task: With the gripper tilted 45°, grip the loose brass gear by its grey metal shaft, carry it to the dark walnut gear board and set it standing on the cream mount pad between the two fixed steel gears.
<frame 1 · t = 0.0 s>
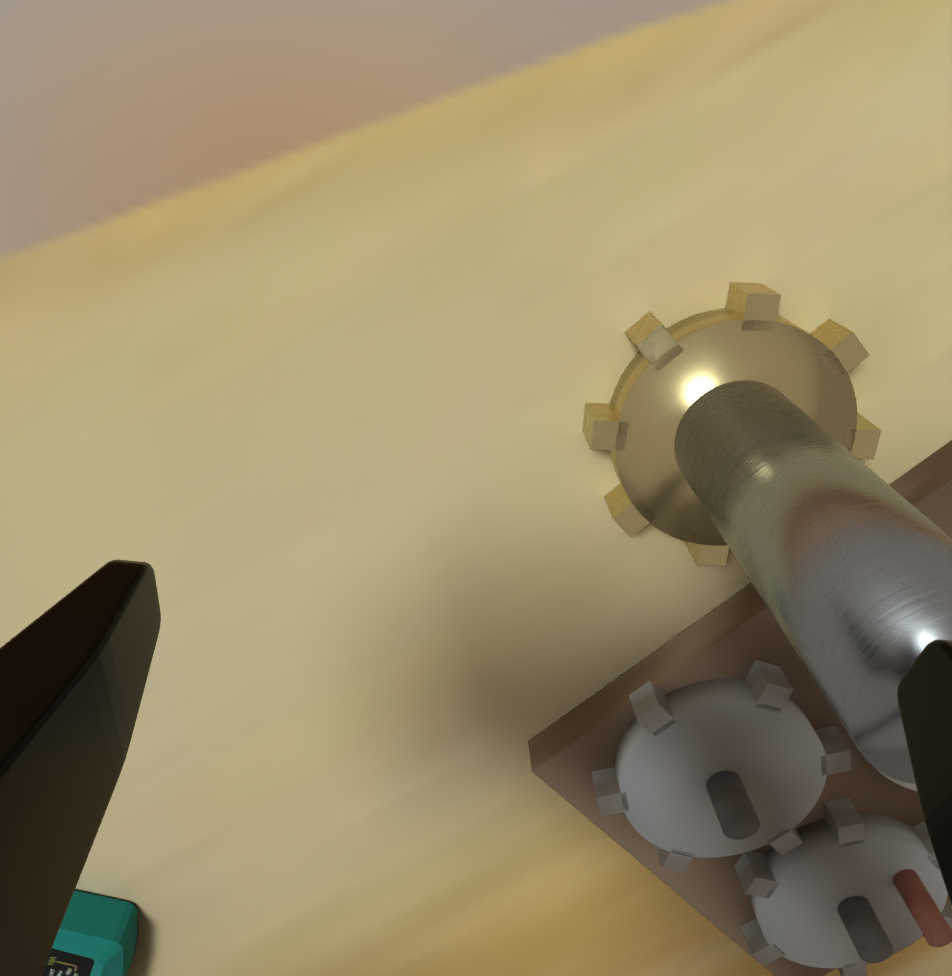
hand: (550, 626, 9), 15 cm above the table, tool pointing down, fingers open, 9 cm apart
gear board: (857, 738, 31), on the table
brass gear: (720, 421, 25), on the table
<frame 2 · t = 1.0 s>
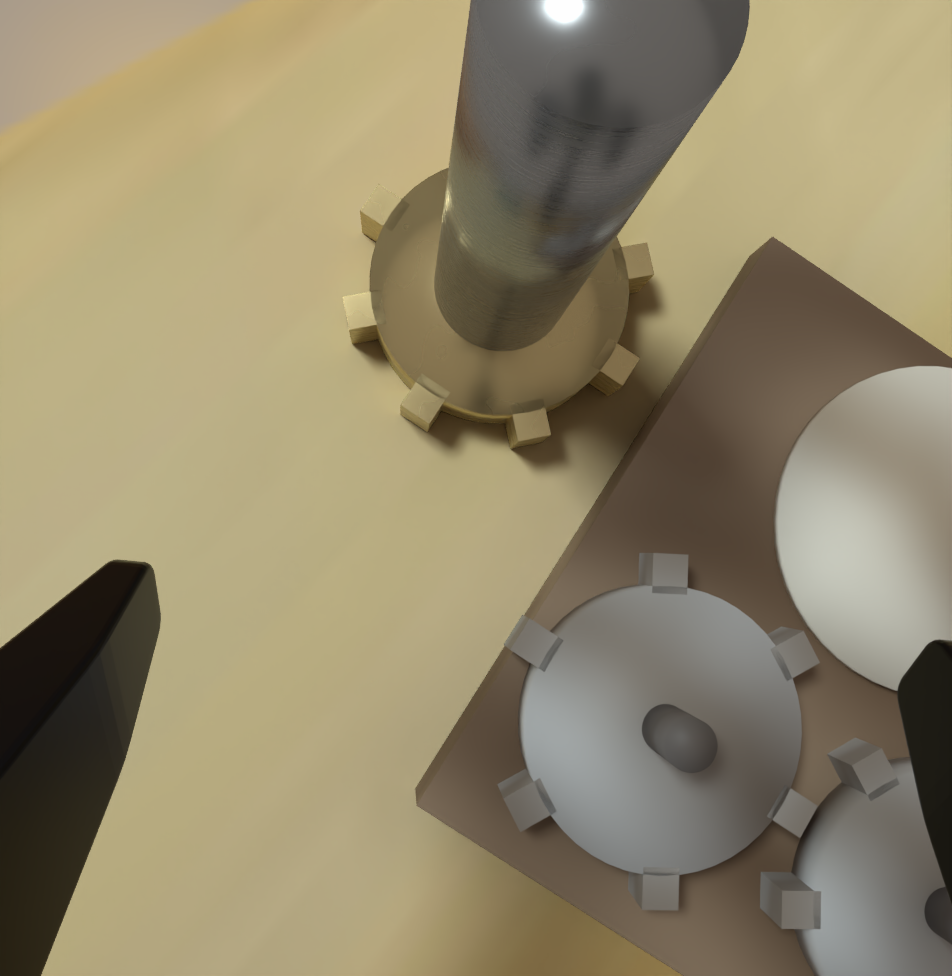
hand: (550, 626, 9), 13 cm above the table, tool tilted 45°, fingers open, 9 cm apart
gear board: (836, 672, 23), on the table
brass gear: (494, 302, 23), on the table
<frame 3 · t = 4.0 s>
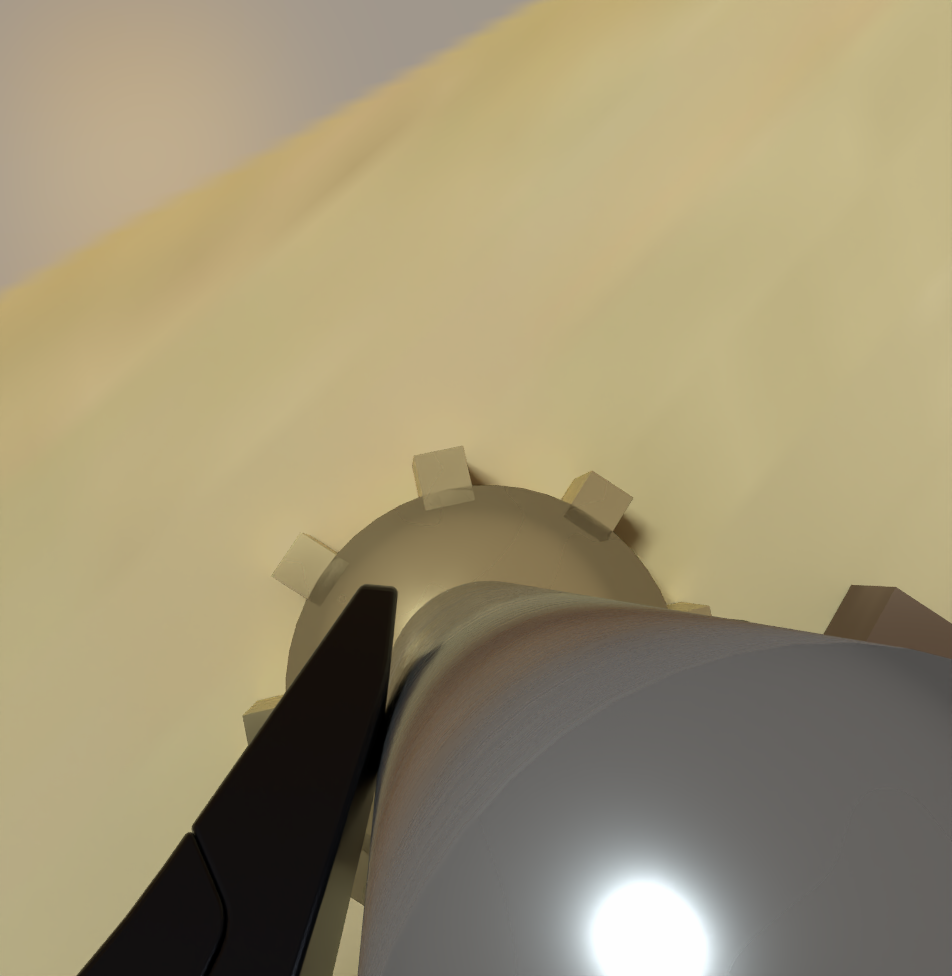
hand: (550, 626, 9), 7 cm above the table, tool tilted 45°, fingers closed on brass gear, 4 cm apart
brass gear: (480, 672, 16), on the table, touching gripper
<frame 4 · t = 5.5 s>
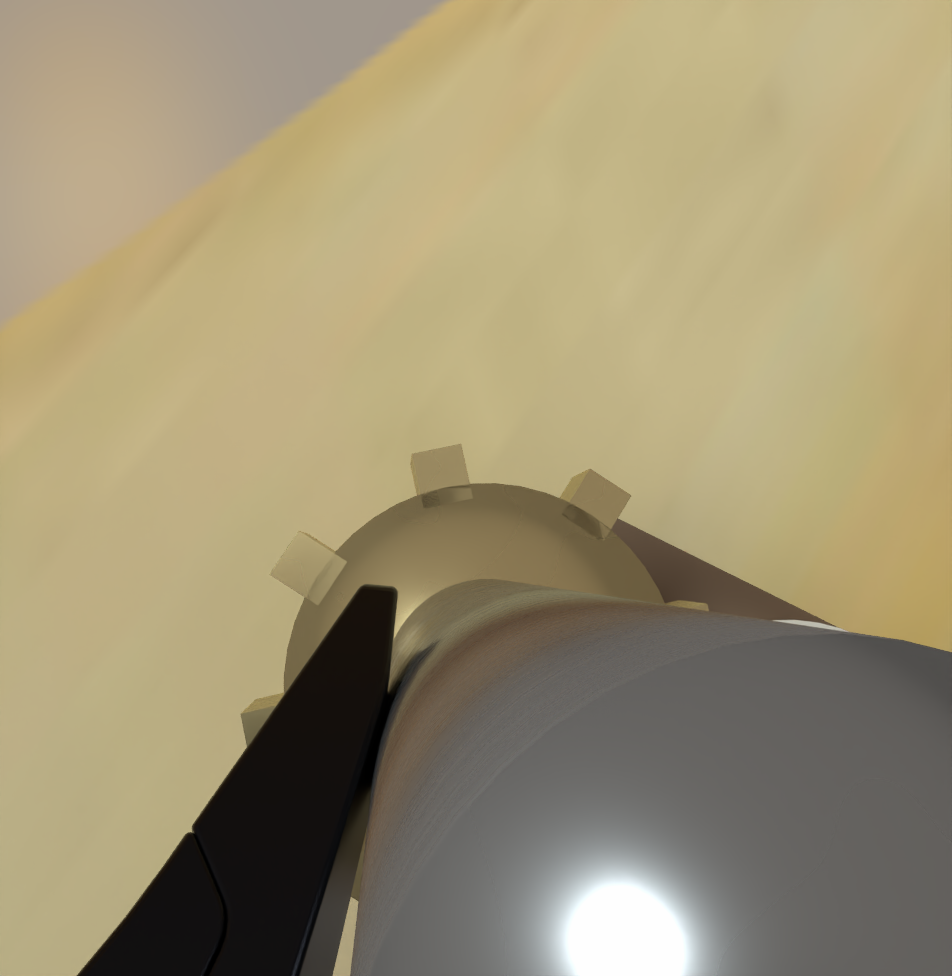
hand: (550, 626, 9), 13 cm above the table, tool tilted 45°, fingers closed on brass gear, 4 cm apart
gear board: (716, 937, 22), on the table
brass gear: (478, 671, 16), point 7 cm above the table, touching gripper
when the fingers open (9 cm above the table, at t = 7.2 s): brass gear drops 1 cm, resting on gear board.
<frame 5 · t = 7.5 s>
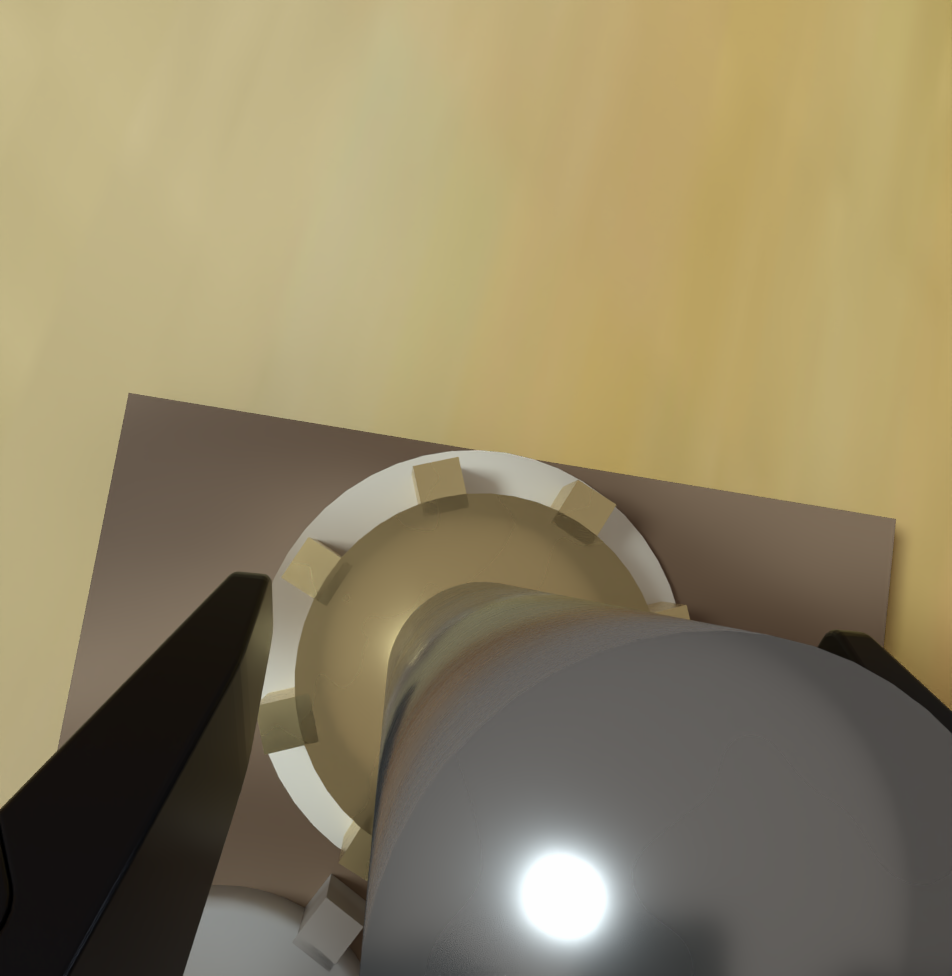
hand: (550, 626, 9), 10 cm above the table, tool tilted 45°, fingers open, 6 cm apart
gear board: (459, 860, 18), on the table
brass gear: (474, 667, 17), point 2 cm above the table, touching gear board
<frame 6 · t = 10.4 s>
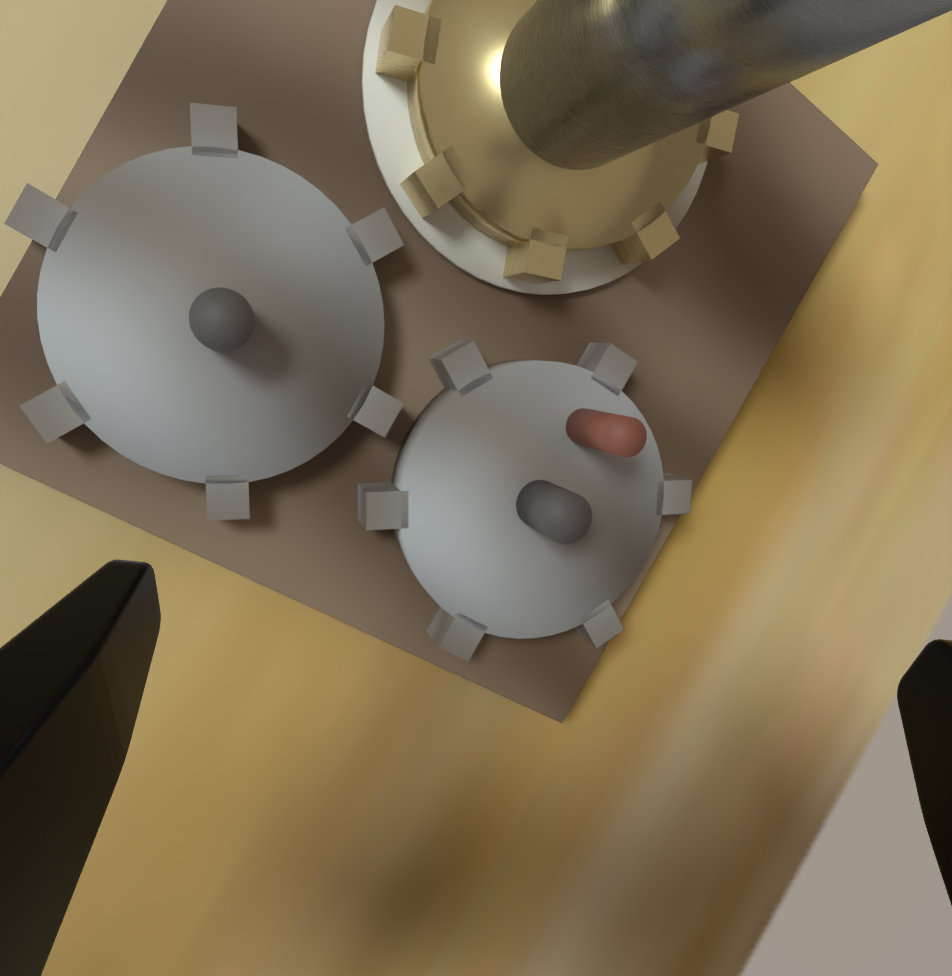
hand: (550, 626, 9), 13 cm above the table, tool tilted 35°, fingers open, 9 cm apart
gear board: (454, 281, 21), on the table
brass gear: (550, 102, 20), point 2 cm above the table, touching gear board
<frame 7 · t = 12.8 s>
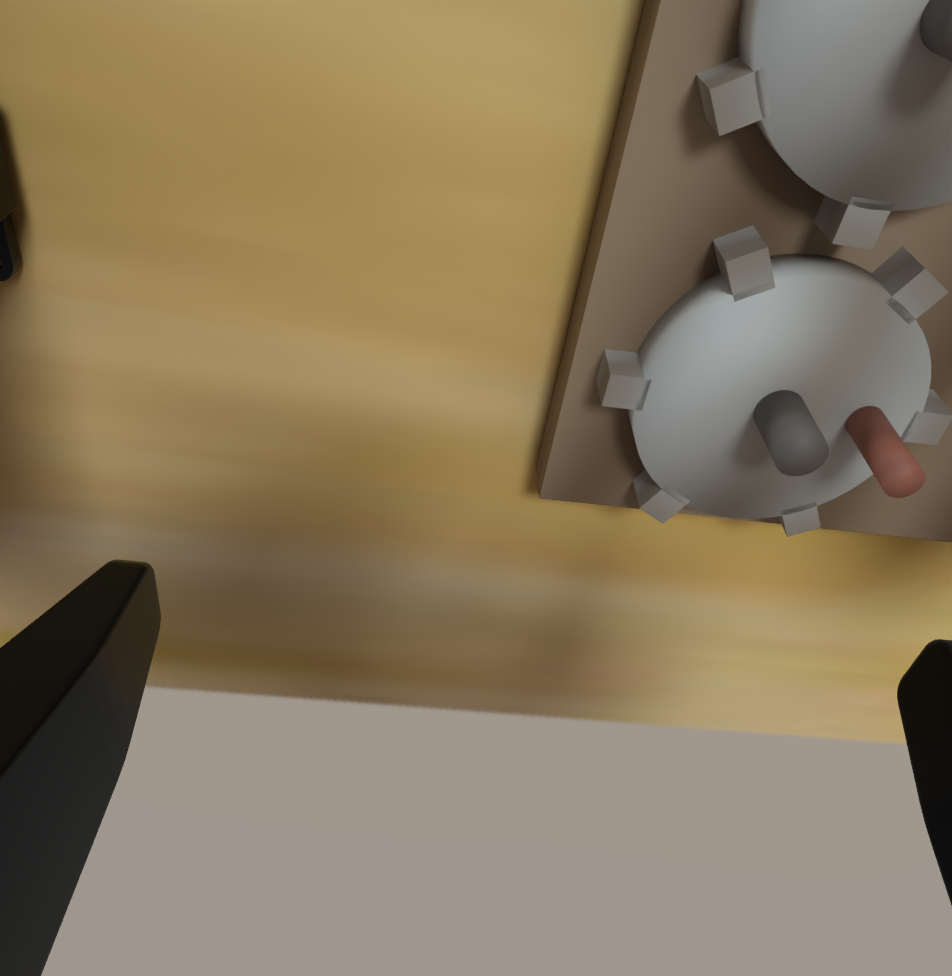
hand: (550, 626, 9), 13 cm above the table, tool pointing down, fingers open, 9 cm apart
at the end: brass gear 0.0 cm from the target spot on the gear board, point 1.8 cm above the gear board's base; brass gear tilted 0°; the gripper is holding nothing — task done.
